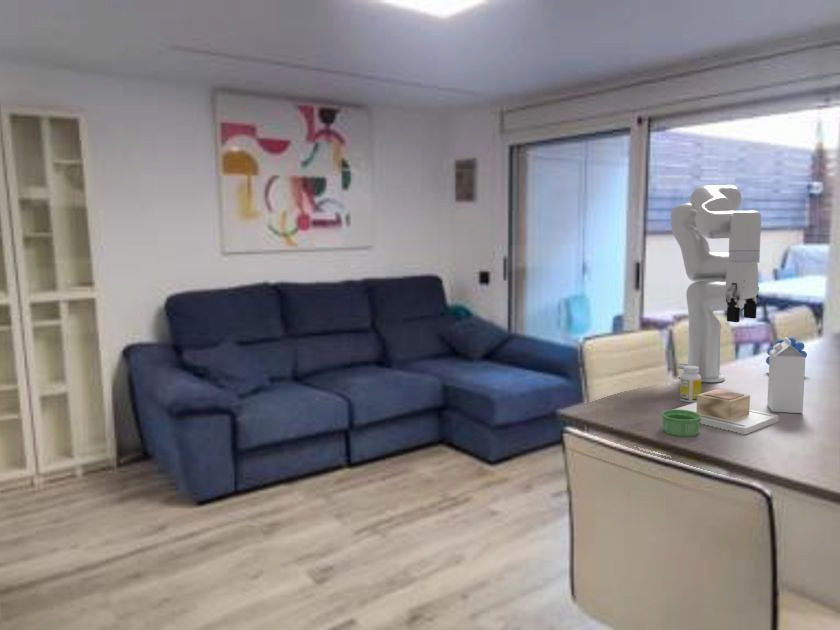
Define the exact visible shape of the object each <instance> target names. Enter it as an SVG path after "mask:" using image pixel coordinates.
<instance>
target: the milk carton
mask: <svg viewBox="0 0 840 630" xmlns="http://www.w3.org/2000/svg"><path fill="white" fill-rule="evenodd" d="M772 347H773V348H774V349H772V350H771V351H770V355H768V357H769V365H768V378H767V379H768V381H767V382H768V383H767V385H768V386H767V406H768V408H769V410H770V411H771V412H774V413H775V412H777V413H791V414H803V413H804V396H805V392H804V391H805V377H806V376H805V373H806V358H805V356H803V355H802V354H801V353H800V352H798V351H797V350H796V349H795V348H793V347H792V346H791V341H790V340H789V339H788V337H787V336H784V342H782V343H778V344H776V345H775V344H774V345H773V346H772Z"/></svg>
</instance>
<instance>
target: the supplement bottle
mask: <svg viewBox="0 0 840 630" xmlns="http://www.w3.org/2000/svg"><path fill="white" fill-rule="evenodd" d="M682 370H683V373H682V374H681V375H680V389H679V391H680V392H679V393H680V394H679V395H680V396H679V397H680V401H682V402H684V403H689V404H692V403H695V402H697V395H698V394H702V382H701V376H700V375H699V374H698V372H699V367H697V366H684V368H683V369H682Z"/></svg>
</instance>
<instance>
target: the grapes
mask: <svg viewBox="0 0 840 630" xmlns="http://www.w3.org/2000/svg"><path fill="white" fill-rule="evenodd" d="M787 339H789V340H790V341H791V346H792V347H793V348H795V349H796V350H797V351H798V352H800V353H801V354H802V355H803V356H805V359H806V358H807V356H808V354H807V352H806V350H804V348H805V343H803V342H800V341H798V342H797V340H796V339H795V338H794V337H787ZM784 341H785V339H778V340H776V341H775V342H774V346H775V345H776V344H778V343H782V342H784ZM774 346H770V347H769V348H768V349H767V350H766V354H767V355H768V357H766V358H765V363H766V364H767V365H768V366H769V356H770V351H771V350H772V349H774V348H773V347H774Z"/></svg>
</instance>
